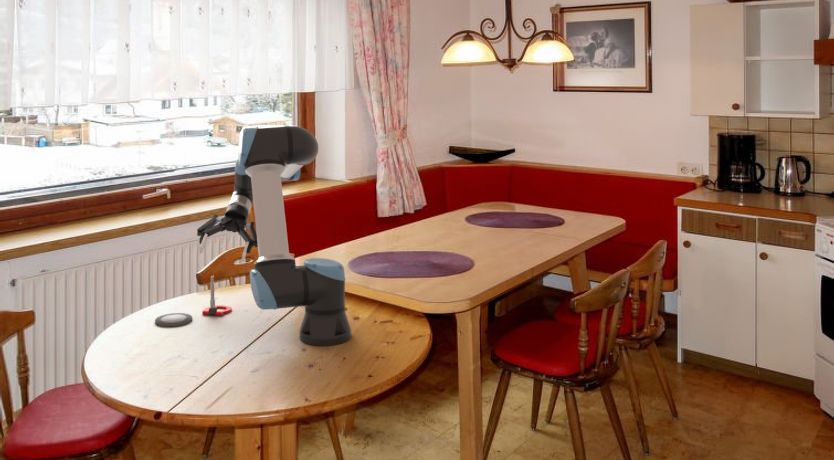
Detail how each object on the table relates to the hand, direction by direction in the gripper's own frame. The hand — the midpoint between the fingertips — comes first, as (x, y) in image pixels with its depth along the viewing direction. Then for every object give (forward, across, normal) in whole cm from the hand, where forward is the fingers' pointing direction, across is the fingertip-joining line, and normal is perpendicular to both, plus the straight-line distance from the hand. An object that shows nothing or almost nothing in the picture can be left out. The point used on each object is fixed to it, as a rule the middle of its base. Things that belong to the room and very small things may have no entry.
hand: (221, 254), depth 239 cm
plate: (+20, +9, -13) cm, 25 cm away
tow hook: (+11, -2, -16) cm, 19 cm away
